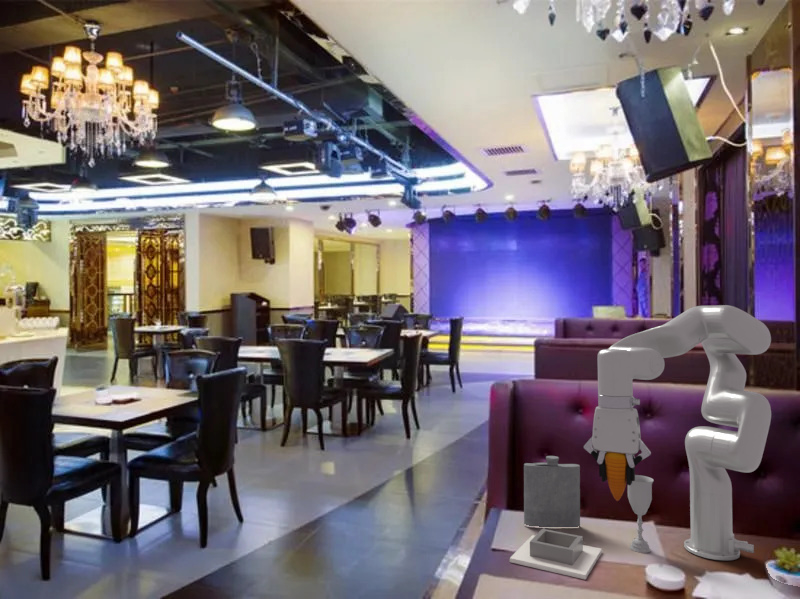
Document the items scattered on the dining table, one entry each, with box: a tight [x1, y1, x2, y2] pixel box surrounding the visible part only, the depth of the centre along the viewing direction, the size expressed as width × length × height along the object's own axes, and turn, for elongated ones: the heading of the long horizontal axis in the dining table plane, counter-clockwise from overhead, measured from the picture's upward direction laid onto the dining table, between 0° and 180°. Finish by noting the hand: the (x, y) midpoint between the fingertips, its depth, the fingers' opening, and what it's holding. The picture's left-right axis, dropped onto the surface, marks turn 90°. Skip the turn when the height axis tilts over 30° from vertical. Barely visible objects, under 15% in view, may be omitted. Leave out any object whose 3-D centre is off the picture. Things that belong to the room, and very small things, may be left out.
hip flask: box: [523, 455, 581, 527], centre depth 164 cm, size 16×4×20 cm, turn 88°
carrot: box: [605, 452, 628, 502], centre depth 131 cm, size 5×5×15 cm
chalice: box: [627, 474, 655, 554], centre depth 148 cm, size 7×7×18 cm
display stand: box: [509, 529, 603, 580], centre depth 142 cm, size 18×18×4 cm
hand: (617, 481), depth 131 cm, fingers closed on carrot, 4 cm apart
